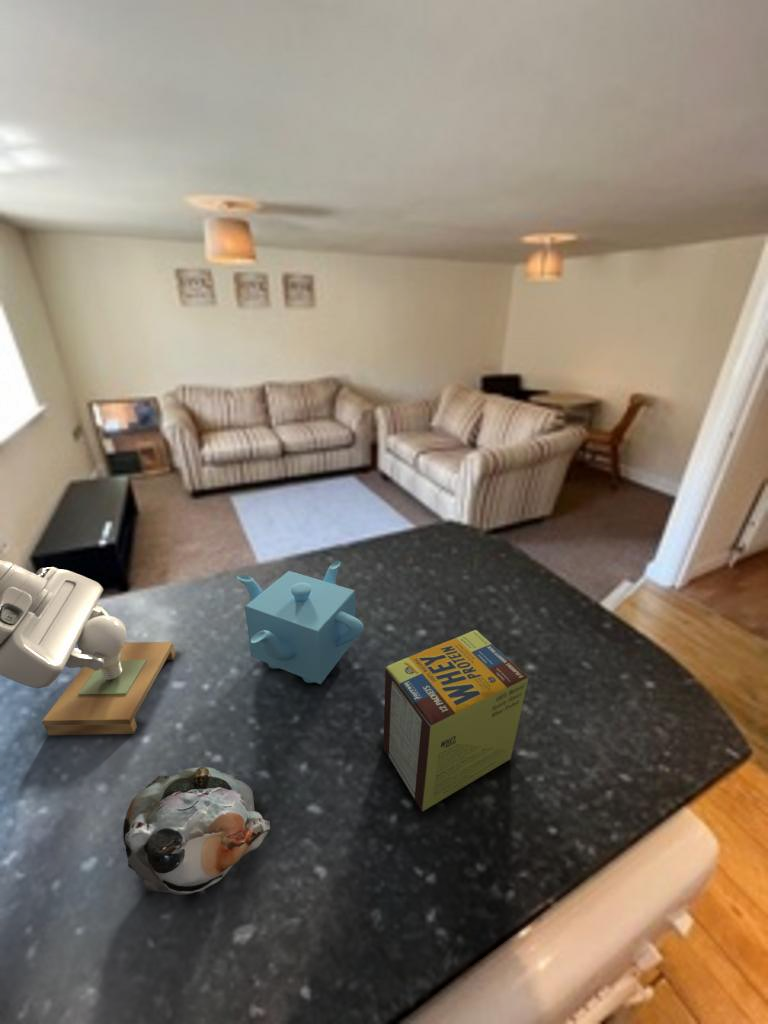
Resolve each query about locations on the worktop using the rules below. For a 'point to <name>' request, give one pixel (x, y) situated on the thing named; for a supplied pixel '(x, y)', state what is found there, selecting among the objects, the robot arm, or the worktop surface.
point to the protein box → (451, 715)
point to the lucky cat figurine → (191, 829)
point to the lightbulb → (104, 642)
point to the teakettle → (301, 623)
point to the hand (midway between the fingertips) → (109, 645)
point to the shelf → (109, 694)
